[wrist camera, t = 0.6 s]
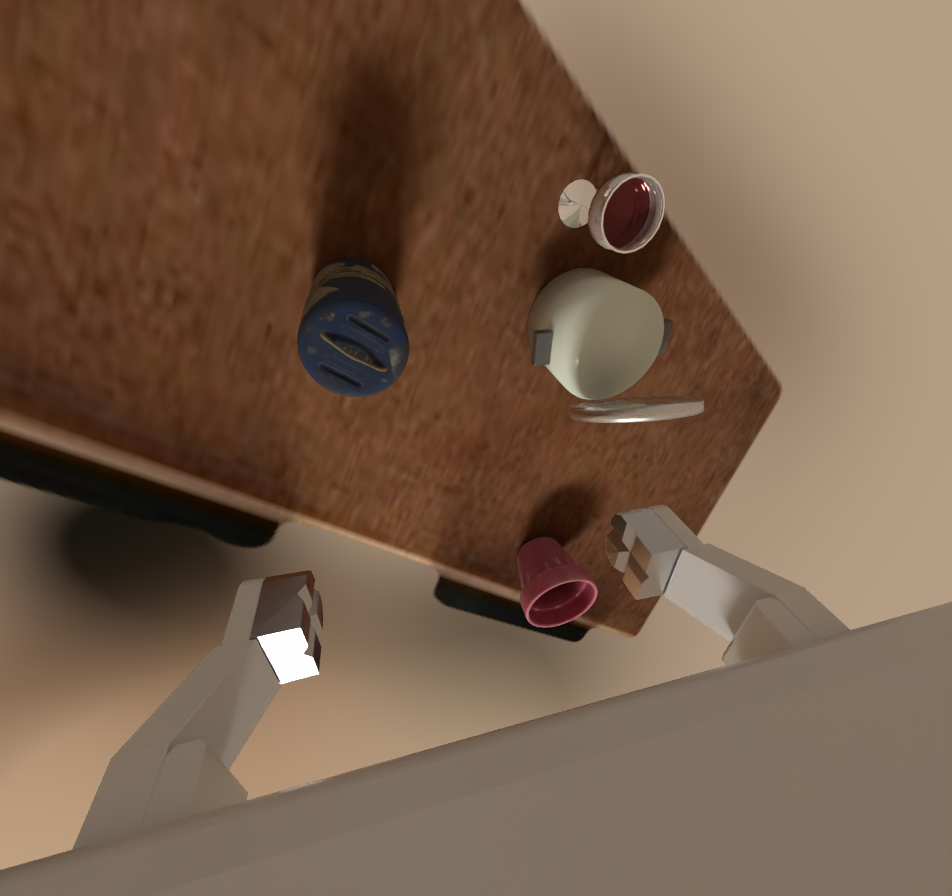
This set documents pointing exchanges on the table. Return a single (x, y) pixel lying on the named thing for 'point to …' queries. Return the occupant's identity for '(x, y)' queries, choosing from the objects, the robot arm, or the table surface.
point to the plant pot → (552, 584)
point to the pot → (595, 332)
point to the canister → (352, 330)
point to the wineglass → (616, 210)
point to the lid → (637, 409)
